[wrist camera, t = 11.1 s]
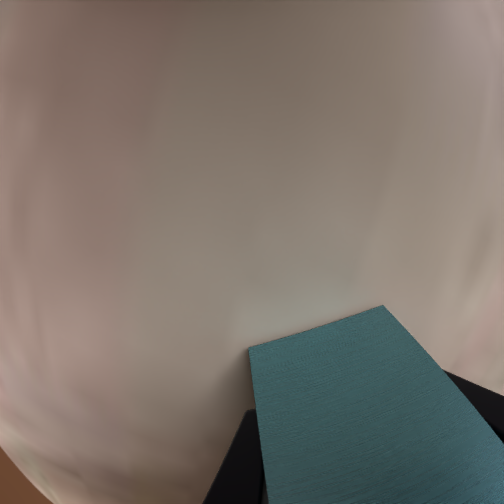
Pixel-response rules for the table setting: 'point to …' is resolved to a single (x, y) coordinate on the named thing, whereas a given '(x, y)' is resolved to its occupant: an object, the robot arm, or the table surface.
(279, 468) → the blade tool
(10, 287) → the table surface
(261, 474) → the robot arm
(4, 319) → the table surface
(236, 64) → the table surface
